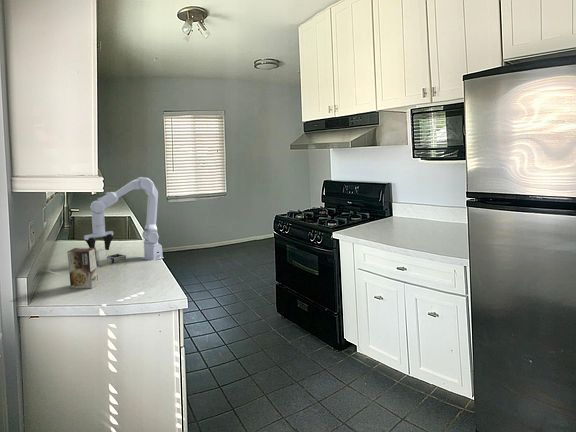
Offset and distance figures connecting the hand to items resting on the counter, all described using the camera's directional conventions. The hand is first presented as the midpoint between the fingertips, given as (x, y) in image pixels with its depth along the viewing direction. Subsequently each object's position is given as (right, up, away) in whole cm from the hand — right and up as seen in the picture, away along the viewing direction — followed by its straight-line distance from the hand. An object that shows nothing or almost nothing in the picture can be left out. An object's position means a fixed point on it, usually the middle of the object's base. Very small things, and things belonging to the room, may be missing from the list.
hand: (100, 251), depth 195 cm
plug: (0, -7, +1) cm, 7 cm away
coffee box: (+8, -12, -31) cm, 34 cm away
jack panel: (+2, -7, +5) cm, 8 cm away
